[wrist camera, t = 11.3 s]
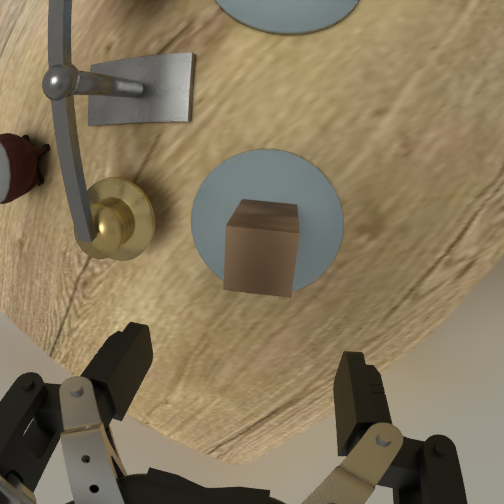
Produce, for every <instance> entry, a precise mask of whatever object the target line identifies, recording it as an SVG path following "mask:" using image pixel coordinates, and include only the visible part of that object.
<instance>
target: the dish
mask: <svg viewBox="0 0 504 504" xmlns="http://www.w3.org/2000/svg"><path fill="white" fill-rule="evenodd" d="M242 199H248V200H259V201H269V202H279V203H289V204H297V209H298V220H299V231H300V235H299V243H298V250H297V258H296V265H295V272H294V279H293V286H292V291H296V290H298V289H300V288H303V287H305V286H307V285H308V284H310V283H312V282H313V281H314V280H316V279H317V278H318V277H320V276H321V275H322V274H323V273H324V272H325V271H326V270H327V268H328V267H329V266H330V264H331V263H332V262H333V260H334V258H335V256H336V255H337V252H338V250H339V247H340V244H341V240H342V236H343V227H344V226H343V213H342V207H341V204H340V201H339V198H338V196H337V194H336V192H335V190H334V188H333V186H332V185H331V183H330V182H329V181H328V179H327V178H326V177H325V175H324V174H323V173H322V172H321V171H320V170H319V169H318V168H317V167H315V166H314V165H313V164H312V163H310V162H309V161H307V160H305V159H304V158H302V157H300V156H297V155H295V154H293V153H289V152H286V151H282V150H276V149H257V150H251V151H247V152H243V153H240V154H238V155H235V156H233V157H231V158H230V159H228V160H226V161H224V162H223V163H221V164H220V165H219V166H217V167H216V168H215V169H214V170H213V171H212V172H211V173H210V174H209V175H208V176H207V177H206V179H205V180H204V181H203V183H202V184H201V186H200V188H199V190H198V192H197V194H196V197H195V200H194V203H193V207H192V214H191V228H192V234H193V239H194V242H195V245H196V248H197V250H198V252H199V254H200V256H201V257H202V259H203V261H204V262H205V264H206V265H207V266H208V267H209V268H210V269H211V271H212V272H213V273H215V274H216V275H217V276H218V277H219V278H220V279H222V280H223V281H224V260H225V232H226V225H227V223H228V221H229V220H230V218H231V216H232V215H233V213H234V211H235V210H236V208H237V206H238V205H239V203H240V202H241V200H242ZM254 294H255V293H254ZM260 295H264V294H260Z"/></svg>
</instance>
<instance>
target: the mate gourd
mask: <svg viewBox="0 0 504 504" xmlns="http://www.w3.org/2000/svg"><path fill="white" fill-rule="evenodd" d="M49 150H50V146H49V144H45V145H44V146H42V147H33V146H32V145H31V143H30V140H29V137H28V135H23V136H22V137H20V136H17V135H15V134H10V133H6V134H0V204H5V203H8V202H11V201H13V200H15V199H17V198H18V197H20V196H22V195H24V194H26V193H27V192H29V191H30V190H31V189H32V188H33V187H34V186H35V185H36V184H38V186H40V185H41V184H43V183H44V180H43V177H42V174H41V172H40V169H39V166H38V163H37V161H38V160H39V159H40V158H41V157H42V156H43V155H45V154H46V153H47V152H48V151H49Z"/></svg>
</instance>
